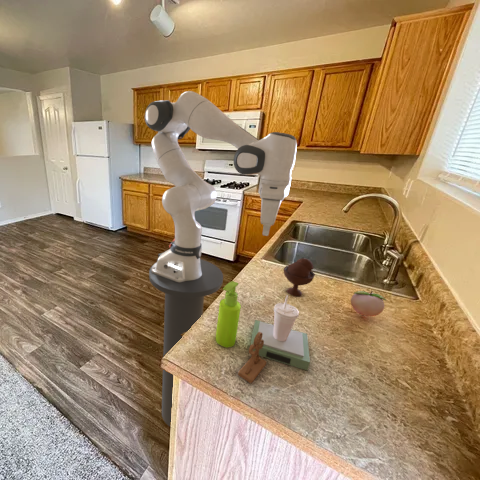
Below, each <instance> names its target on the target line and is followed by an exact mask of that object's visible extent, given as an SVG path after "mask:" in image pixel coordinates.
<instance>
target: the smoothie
mask: <svg viewBox="0 0 480 480" xmlns="http://www.w3.org/2000/svg"><path fill="white" fill-rule="evenodd" d="M288 300H289V295H287V294H286V295H285V300H284V302H277V303H276V304H274V306H273V312H274V314H273V325H274V331H273V336H274V338H275V339H276V340H278V341H282V342H283V341H286V340H287V338H288V336H289V334H290V331H291V329H292V330H293V326H294V324H295V323H296V320H297V319H298V318H299V314H300V312H299V311H300V310H298V309H297V307H295V306H294V305H292V304H291V303H290V304H289V303H288Z"/></svg>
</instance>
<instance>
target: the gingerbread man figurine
mask: <svg viewBox="0 0 480 480" xmlns="http://www.w3.org/2000/svg"><path fill="white" fill-rule="evenodd" d="M259 335H260V336H259ZM262 335H263V334H262V333H261V332H258V333H257V335H256V336H255V339H254V343H253V344H254V345H253V344H251V343H250V346H249V348H248V354H249V355H250V358H249V359H248V360H247V361H246V362H245V363H244V365H243V366H242V367H241V368H240V369H239V370H238V371H237V376H239V377H240V378H242V379H243V380H244V381H246V382H248V383H249V384H253V382H254V381H255V380H256V379H257V378H258V376H259V375H260V373H261V372H262V371H263V370H264V368H265V367H266V365H267V361H266V360H265V359H263V358H262V357H261V356H259V349H262V347H263V345H264V340H262ZM260 342H261V343H260ZM259 344H260V345H259ZM253 349H255V350H256V351H253Z"/></svg>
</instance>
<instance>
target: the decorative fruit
mask: <svg viewBox="0 0 480 480" xmlns="http://www.w3.org/2000/svg"><path fill="white" fill-rule="evenodd" d="M384 301H387V299H386V298H385V297H384V296H383V295H381V294H379V293H374V292H373V290H371V291H370V292H367V291H364V290H357V291H355V292H353V294H352V296H351V298H350V305H351V307H352V308H353V310H354V311H355V312H356V313H357V314H359V315H361V316H363V317H364V316H365V317H367V316H368V317H375V316H379V315H380V314H382V312H383V311H384V309H385V302H384Z"/></svg>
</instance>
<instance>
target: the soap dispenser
mask: <svg viewBox="0 0 480 480" xmlns="http://www.w3.org/2000/svg"><path fill="white" fill-rule="evenodd" d="M237 286H239V282H236V281H235V280H231V281H229V282H228V283H226V284H225V285H224V287H223V288H222V290H223V291H225V295H224V298H222V299H220V301H219V305H218V314H217V322H216V331H215V342H216V344H218V345H219V346H221V347H224V348H232V347H234V346H235V344H236V340H237V334H238V327H239V321H240V315H241V307H242V305H241V303H240V302H239V301H238V298H239V297H238V296H239V294H238V293H237V291H236V289H237V288H236V287H237Z"/></svg>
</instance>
